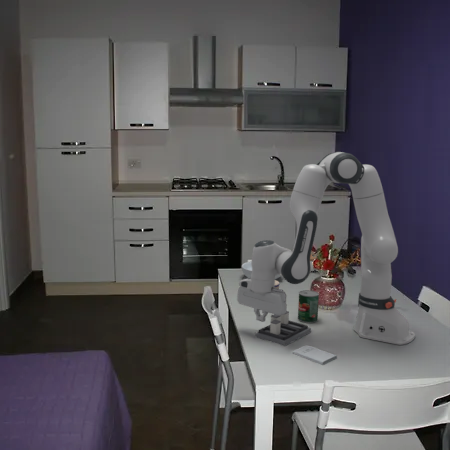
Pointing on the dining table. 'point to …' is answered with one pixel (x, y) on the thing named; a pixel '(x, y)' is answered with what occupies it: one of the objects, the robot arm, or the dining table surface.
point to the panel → (284, 333)
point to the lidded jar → (311, 262)
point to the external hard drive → (314, 354)
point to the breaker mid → (276, 318)
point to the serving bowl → (248, 270)
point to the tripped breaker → (275, 327)
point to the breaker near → (285, 318)
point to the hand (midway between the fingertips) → (260, 320)
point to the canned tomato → (308, 306)
